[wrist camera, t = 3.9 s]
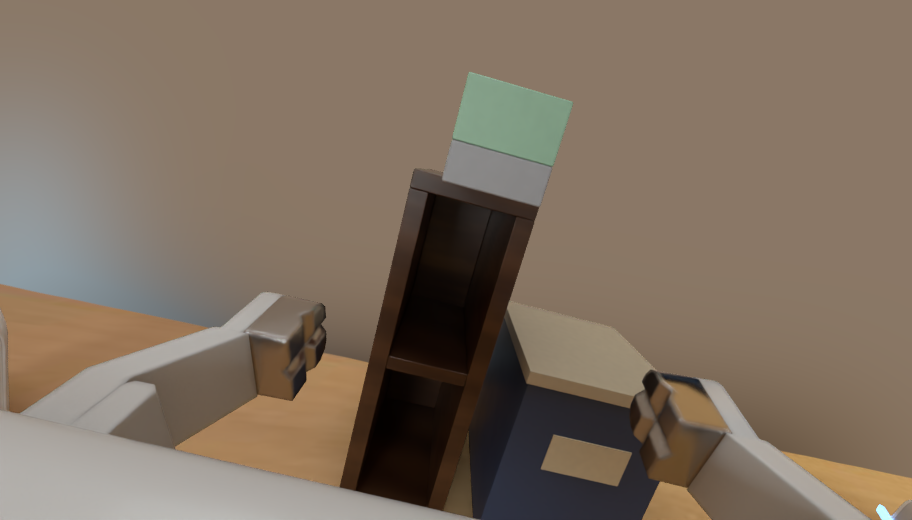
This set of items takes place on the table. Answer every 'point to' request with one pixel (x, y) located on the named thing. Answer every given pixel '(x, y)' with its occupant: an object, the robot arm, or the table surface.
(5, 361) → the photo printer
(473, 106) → the green box
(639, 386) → the archive box
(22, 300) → the table surface
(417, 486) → the shelf
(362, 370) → the table surface
